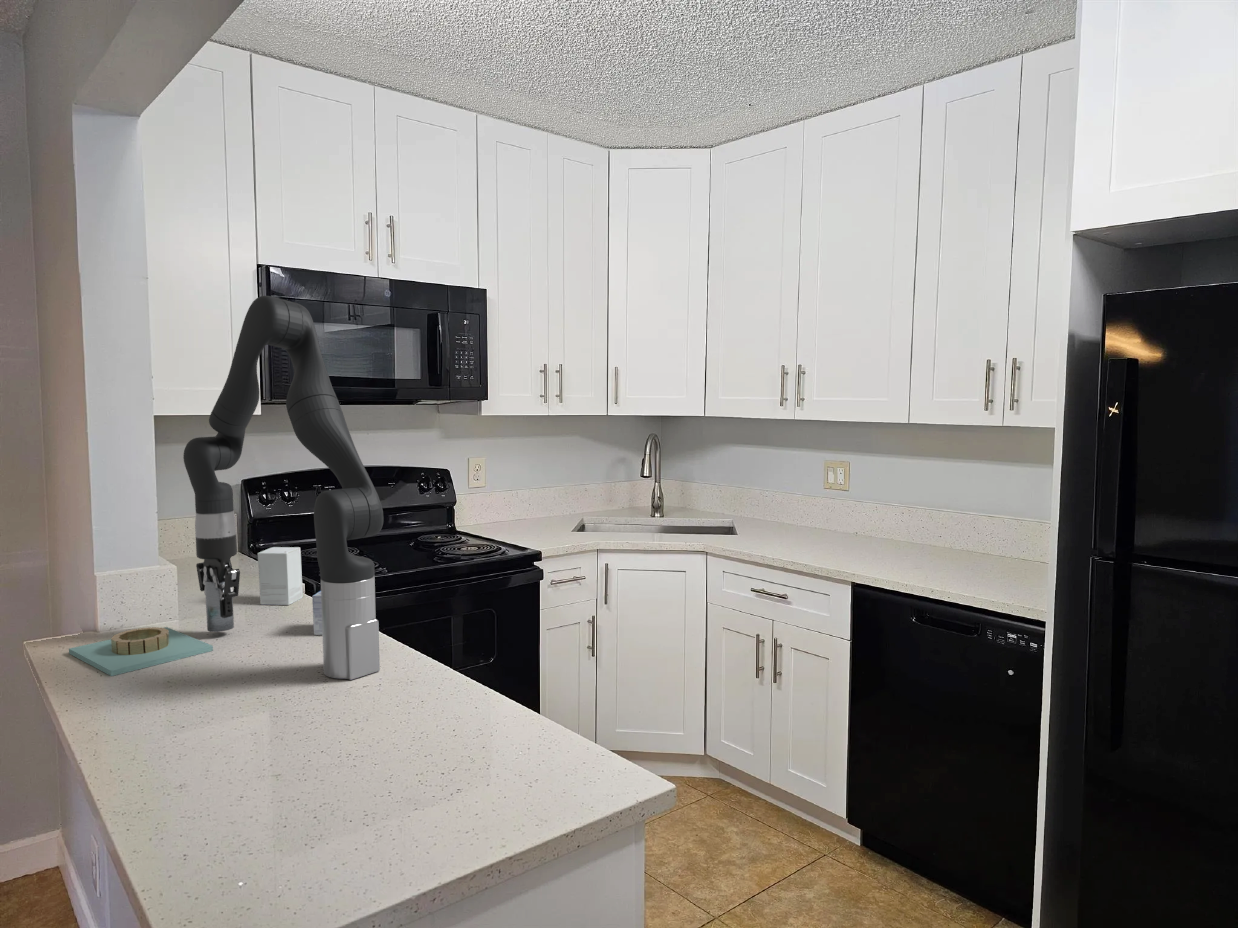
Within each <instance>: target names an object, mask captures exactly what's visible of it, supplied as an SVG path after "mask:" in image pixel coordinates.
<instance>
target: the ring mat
mask: <svg viewBox="0 0 1238 928" xmlns="http://www.w3.org/2000/svg"><path fill="white" fill-rule="evenodd" d="M164 628H165V629H167V630H169V644H168V646H167V647H165V648H163V649H160V650H158V651H153V652H149V653H144V654H136V655H118V654H115V653H113V652H112V644H111V639H106V640H102V641H97V642H92V643H88V644H83V645H79V646H73V647H69V648H68V654H69V655H70V656H73V657H75V658H76V659H78V660H81V661H82V662H83V663H86V664H88V665H90V666H91V667H93V668H95V669H97V670H99V671H101V672H103V673H104V674H106V675H108V676H110V677H114V676H118V675H121V674H125V673H129V672H133V671H137V670H140V669H145V668H148V667H153V666H158V665H161V664H165V663H169V662H172V661H177V660H181V659H186V658H188V657H194V656H196V655H202V654H205V653H209V652H212V651H214V649H213V648H214V646H213V645H212V644H209V643H207V642H204V641H202V640H200V639H198V638H195V637H193V636H190V635H187V634H185V633H184V632H183V633H182V632H180V631H178V630H176V629H173V628H170V627H168V626H166V627H165V626H164Z"/></svg>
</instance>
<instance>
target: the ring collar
mask: <svg viewBox="0 0 1238 928" xmlns="http://www.w3.org/2000/svg"><path fill="white" fill-rule="evenodd" d="M111 644H112V652H113V653H115V654H118V655H136V654H144V653H149V652H153V651H158V650H160V649H163V648H165V647H167V646H168V644H169V630H167V629H165V627H159V626H158V627H157V626H156V627H155V626H154V627H150V626H149V627H140V628H134V629H128V630H125V631H121V632H119V633H116V634H114V635H113V636H112V637H111Z"/></svg>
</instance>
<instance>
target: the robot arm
mask: <svg viewBox="0 0 1238 928" xmlns="http://www.w3.org/2000/svg"><path fill="white" fill-rule="evenodd" d="M266 346H272V347H276V348H282V349H284V350H285V351H286V352H287V354H288V356H289V357H290V360H291V364H292V367H293V372H294V373H293V377H292V380H291V383H290V386H289V388H288V391H287V394H286V400H285V405H286V406H285V407H286V411H287V415H288V417H289V421H290V423H291V426H292V429H293V432H294V433H295V436H296V438H297V439H298V441H299V442H300V443H301V444H302V445H303V447H305V448H306V450H307V451H308V452H309V453H311V454H312V455H313V456H314V457H316V458H317V459H318V460H319V461H321V463H323V464H324V465H325V466H326V467H327V468H328V469H329V470H330V471H331V473H333V474H334V476H335V477H336V478H337V480H338V483H339V484H340V486H341V487H342V488H338V489H329V490H324V491H322V492H320V493H319V494H318V495H317V497H316V499H315V503H314V506H313V523H314V535H315V544H316V556H317V557H316V558H317V562H318V567H319V574H320V575H319V576H320V591H321V605H322V635H321V637H322V654H323V655H322V657H323V658H322V659H323V662H322V663H323V674H324V675H325V676H327V677H328V678H332V679H347V680H355V679H358V678H361V677H364V676H367V675H370V674H373V673H377V672H380V670H381V668H380V667H381V665H380V664H381V661H380V657H381V656H380V630H379V629H380V627H379V625H380V624H379V620H378V619H377V618H376V616H377V615H376V613H377V612H376V586H375V585H376V583H375V581H376V579H375V574H376V573H375V563H374V561H373V560H372V559H371V558H368V557H365V556H361V555H354V554H352V553H351V552H349V549H348V542H347V541H352V540H359V539H365V538H369V537H374V536H375V535H378V534H379V533H380V532H381V530H382V528H383V525H384V519H385V518H384V510H383V505H382V501H381V500H380V497H379V494H378V492H377V489H376V488H375V486H374V484H373V481H372V480H371V478H370V476H369V473H368V472H367V469H366V468H365V465H364V464H363V462H362V459H361V458H360V455H359V453H358V451H357V448H356V446H355V443H354V441H353V440H354V439H352V435H351V434H350V430H349V426H348V425H347V421H346V418H345V415H344V413H343V411H342V407H341V405H340V402H339V399H338V397H337V394H336V392H335V390H334V387H333V386H332V385H333V383H332V382H331V379H330V376H329V373H328V370H327V367H326V365H325V364H326V363H325V362H324V358H323V354H322V350H321V346H320V342H319V338H318V335H317V329H316V326H315V323H314V320H313V317H312V315H311V313H310V311H309V310H308V309H307V308H306V307H305V306H303V305H302V304H300V303H297V302H294V301H290V300H286V299H283V298H280V297H279V298H278V297H275V296H271V295H261V296H259V297H257V298H256V299H254V300H253V301H252V303H250V306H249V308H248V309H247V311H246V314H245V316H244V319H243V322H242V326H241V330H240V333H239V336H238V340H237V343H236V346H235V351H234V353H233V357H232V361H231V364H230V368H229V372H228V375H227V378H226V380H225V382H224V385H223V387H222V390H221V392H220V394H219V396H218V398H217V400H216V402H215V404H214V406H213V407H212V410H211V412H210V415H209V418H208V423H209V425H210V427H211V429H213V430H214V431H215V432H216V433H217V434H216V435H215V436H201V437H200V436H199V437H195V438H192V439H189V440H188V442H187V443H186V445H185V447H184V450H183V454H182V455H183V457H182V458H183V464H184V467H185V469H186V473H187V475H188V479H189V481H190V484H191V487H192V489H193V492H194V505H195V506H194V507H195V508H194V509H195V518H194V519H195V520H194V532H195V551H196V553H195V554H196V557H197V558H198V559H201V560H203V561H202V562H197V563H196V566H195V567H196V571H197V573H196V574H197V579H198V585H199V590H200V592H204V593H203V595H205V581H209V580H210V581H212V582H214V584H215V589H216V590H218V593H219V597H220V615H221V617H222V618H227V617H231V616H232V615H234V606H233V607H232V598H233V599H234V598H235V597H238V596H239V593H240V592H239V590H240V580H241V579H240V577H241V570H240V569H239V568H236V569H235V568H233V565H232V562H231V558H232V557H234V556H236V555H237V553H238V543H237V539H238V538H237V523H236V517H235V511H234V510H235V509H234V492H233V487H232V485H231V484H229V483H227V482H224V481H219V479H218V478H217V475H216V472H217V471H223V470H225V471H226V470H228V469H231V468H232V467H234V466H235V465H236V464H237V463H238V461H240V458H241V455H242V451H243V449H244V448H243V447H244V446H243V445H244V441H245V437H246V436H245V435H246V429H247V427H248V425H249V423H250V421H251V420H252V417H253V415H254V414H255V411H256V409H257V407H258V404H259V401H260V385H259V378H258V361H259V359H260V356H261V354H262V352H263V350H264V348H265V347H266ZM215 471H216V472H215ZM222 582H225V584H220V583H222ZM223 588H224V592H223Z"/></svg>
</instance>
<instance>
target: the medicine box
mask: <svg viewBox="0 0 1238 928" xmlns="http://www.w3.org/2000/svg"><path fill="white" fill-rule="evenodd" d="M311 599H312V620H313V621H312V622H313V635H314V636H322V605H321V590H318V592H316V593H315V594H313V595H312V598H311Z"/></svg>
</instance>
